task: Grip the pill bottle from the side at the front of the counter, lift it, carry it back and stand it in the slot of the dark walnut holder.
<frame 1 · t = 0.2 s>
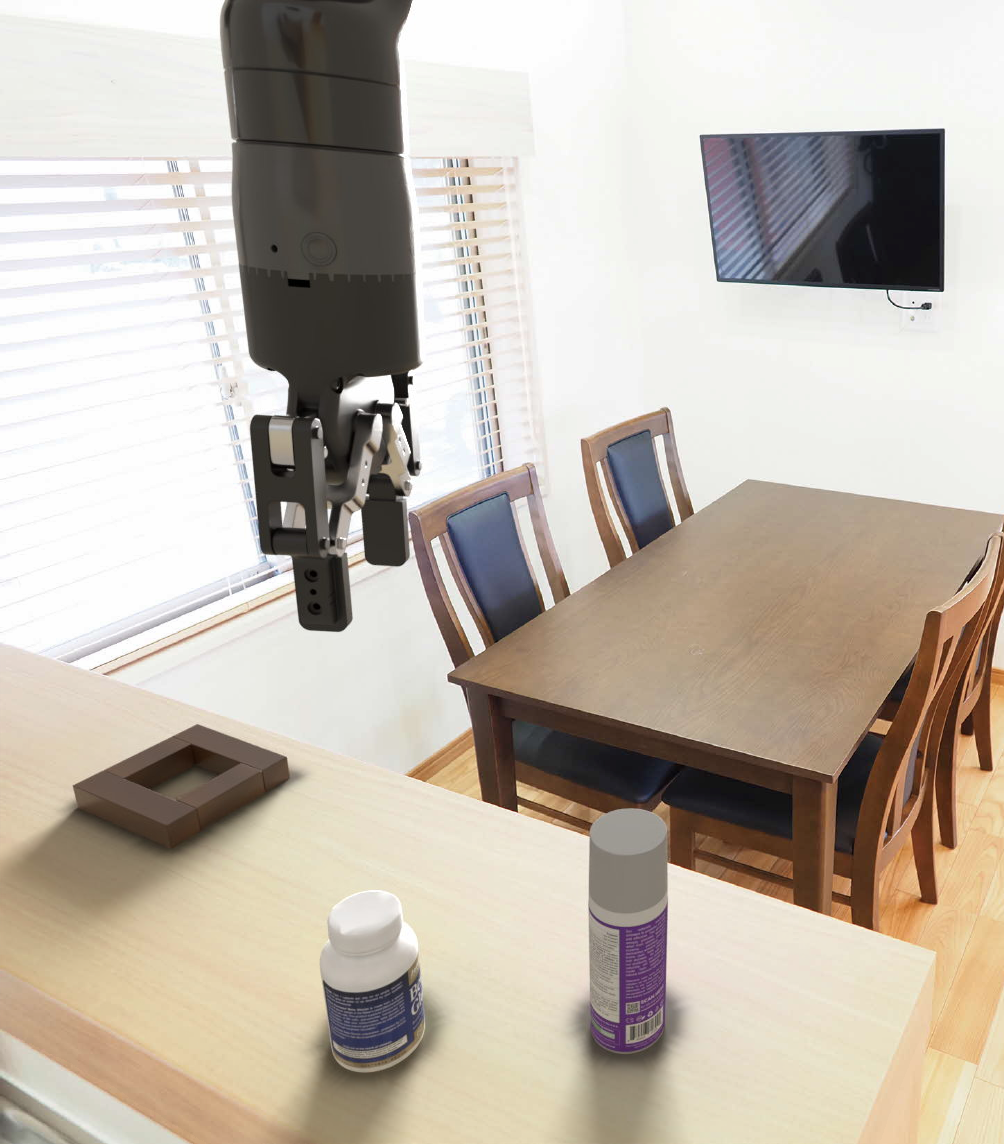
hand: (359, 593, 49), 30 cm above the worktop, tool pointing down, fingers open, 8 cm apart
holder: (188, 795, 81), on the worktop
pill bottle: (380, 1042, 59), on the worktop
container: (627, 1030, 61), on the worktop
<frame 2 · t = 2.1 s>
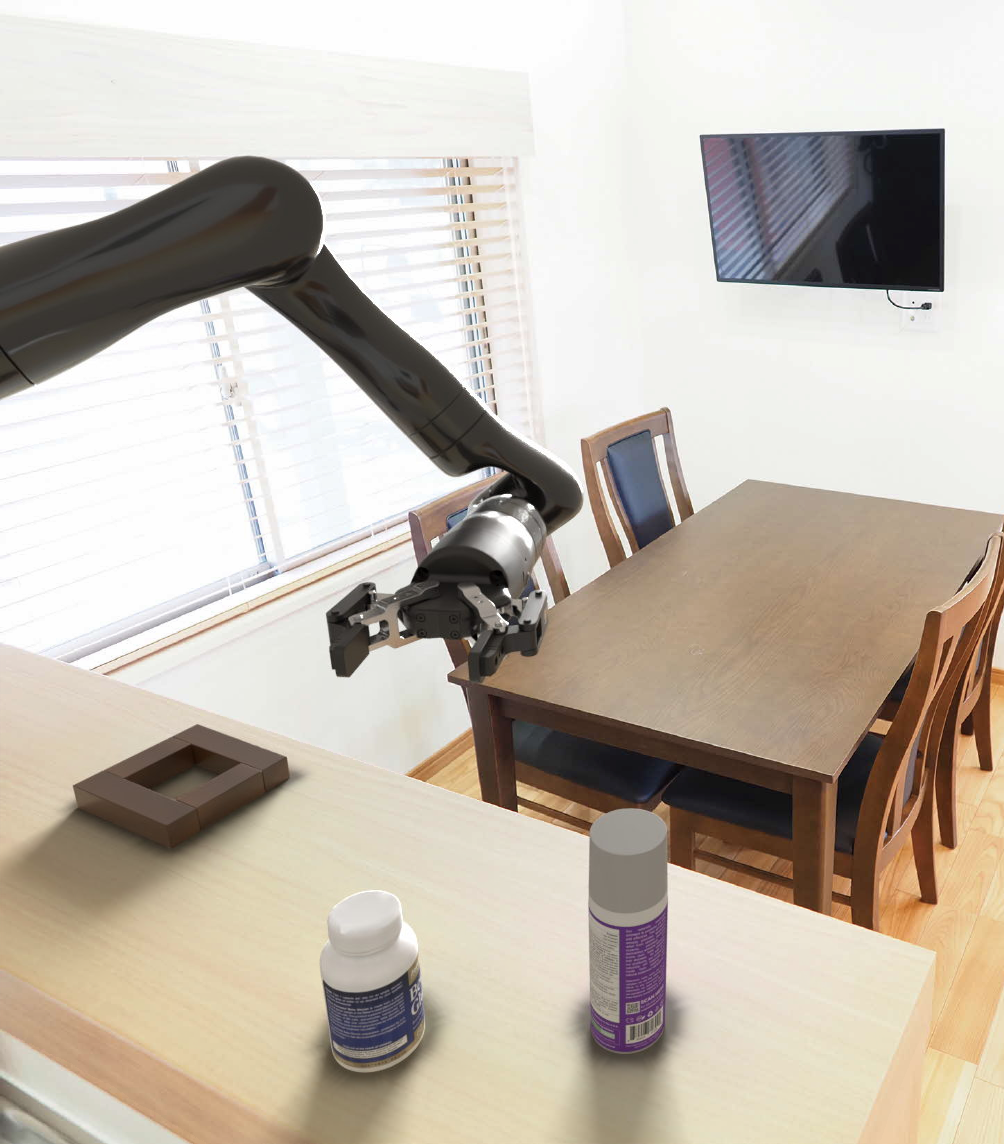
hand: (407, 667, 62), 20 cm above the worktop, tool horizontal, fingers open, 8 cm apart
nothing on the worktop moved.
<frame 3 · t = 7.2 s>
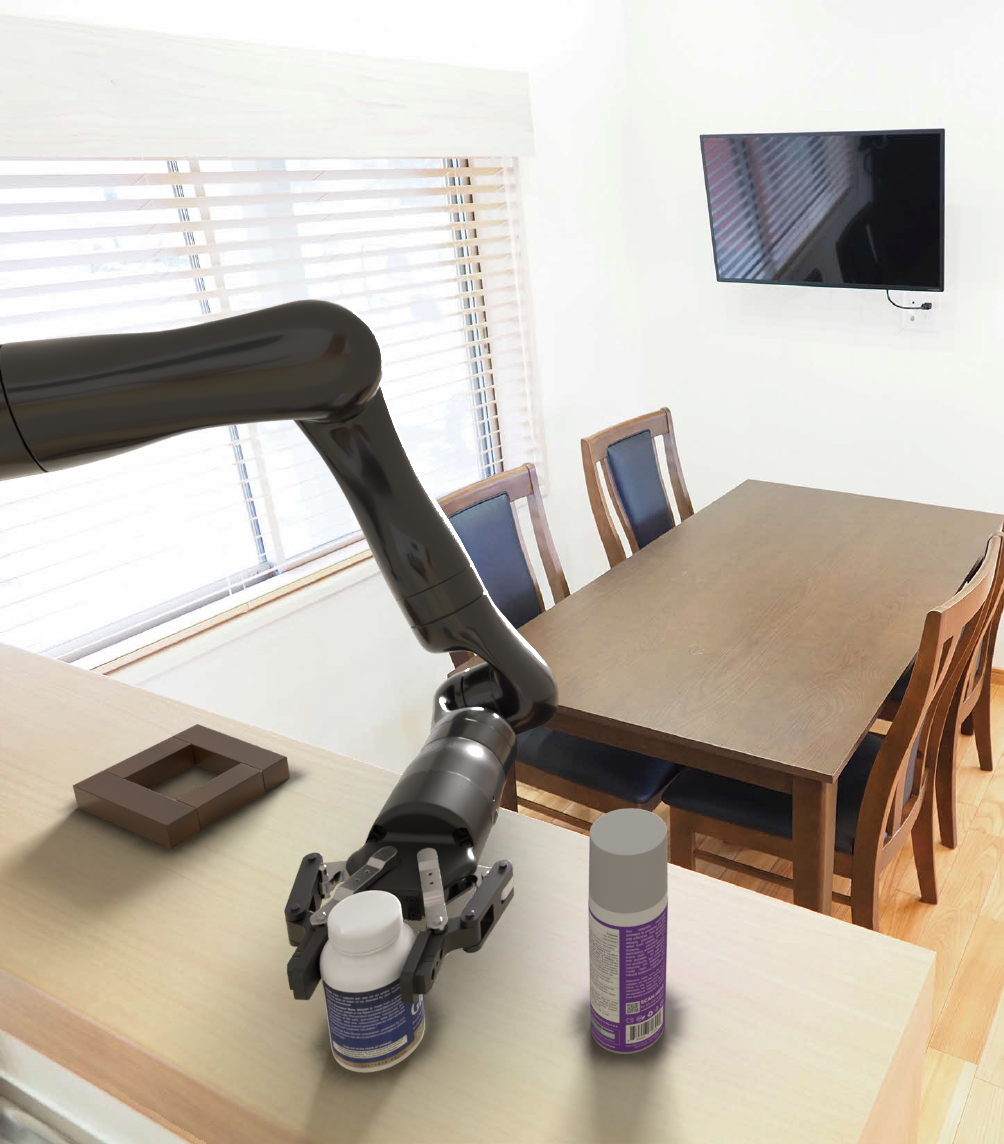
hand: (353, 990, 55), 7 cm above the worktop, tool horizontal, fingers closed on pill bottle, 5 cm apart
pill bottle: (380, 1042, 59), on the worktop, touching gripper
everything else where it was.
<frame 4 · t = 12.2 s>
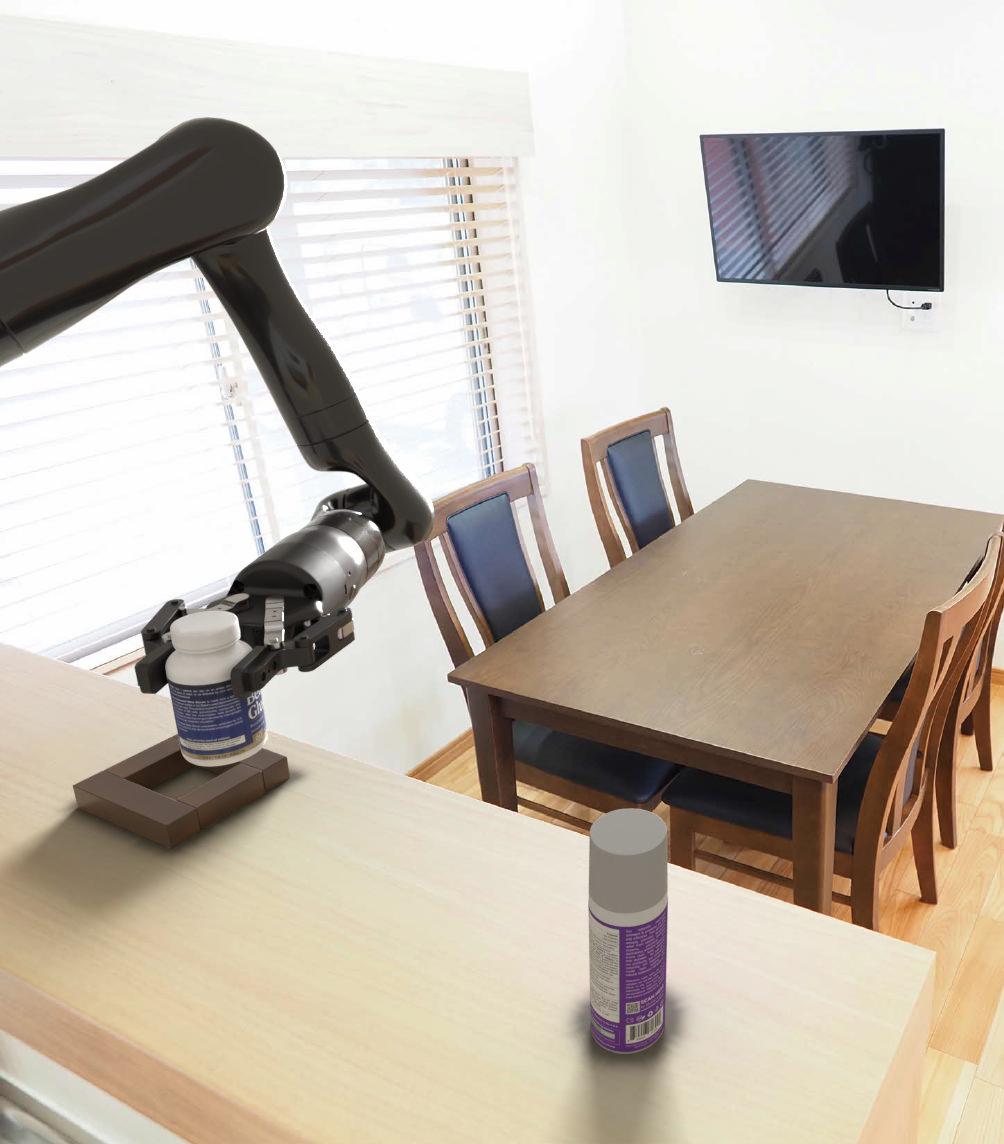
hand: (191, 683, 63), 18 cm above the worktop, tool horizontal, fingers closed on pill bottle, 5 cm apart
pill bottle: (226, 750, 68), point 11 cm above the worktop, touching gripper
everything else where it was.
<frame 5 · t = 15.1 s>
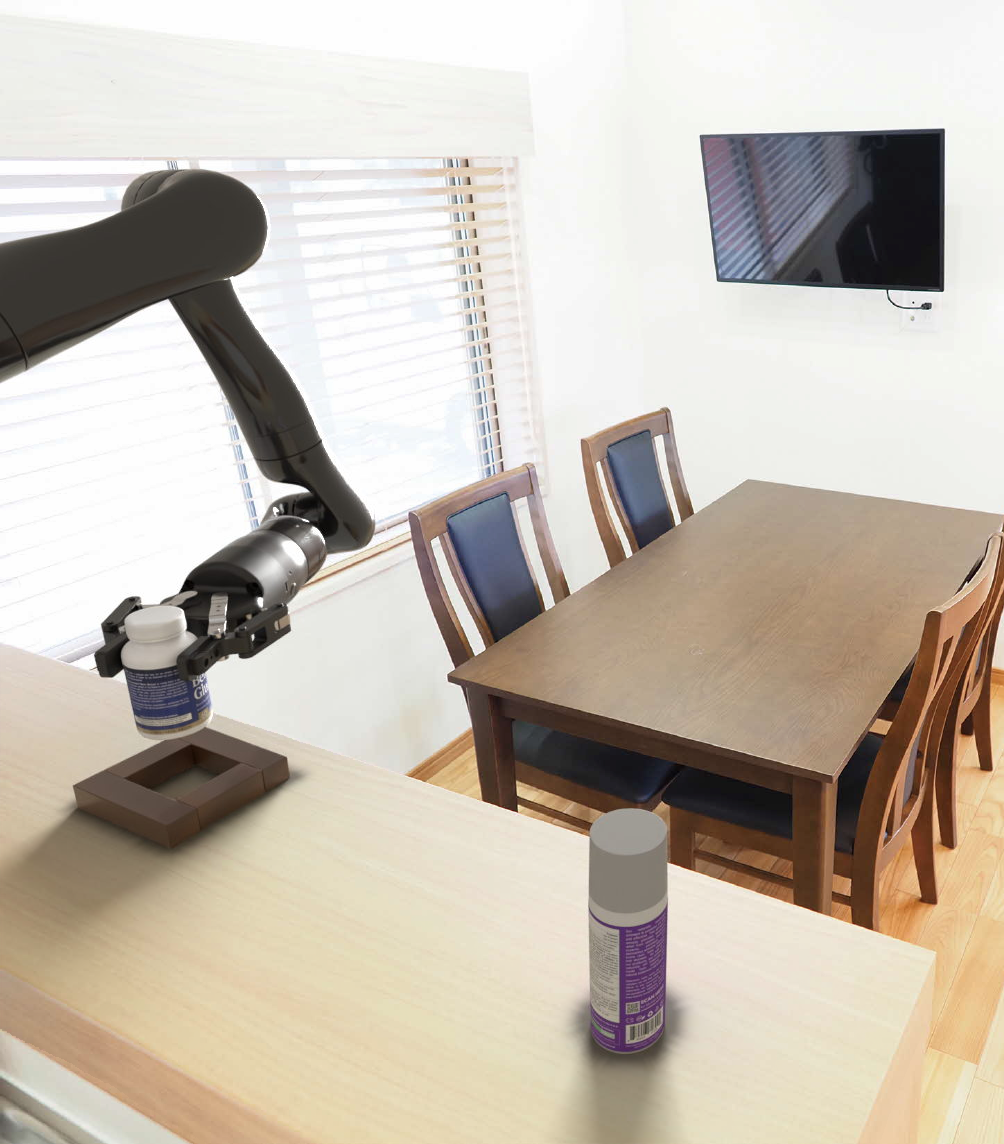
hand: (143, 668, 74), 13 cm above the worktop, tool horizontal, fingers closed on pill bottle, 5 cm apart
pill bottle: (177, 726, 79), point 7 cm above the worktop, touching gripper
everything else where it was.
when the fingers open (7 cm above the worktop, at t = 17.4 s): pill bottle stays where it is, resting in holder.
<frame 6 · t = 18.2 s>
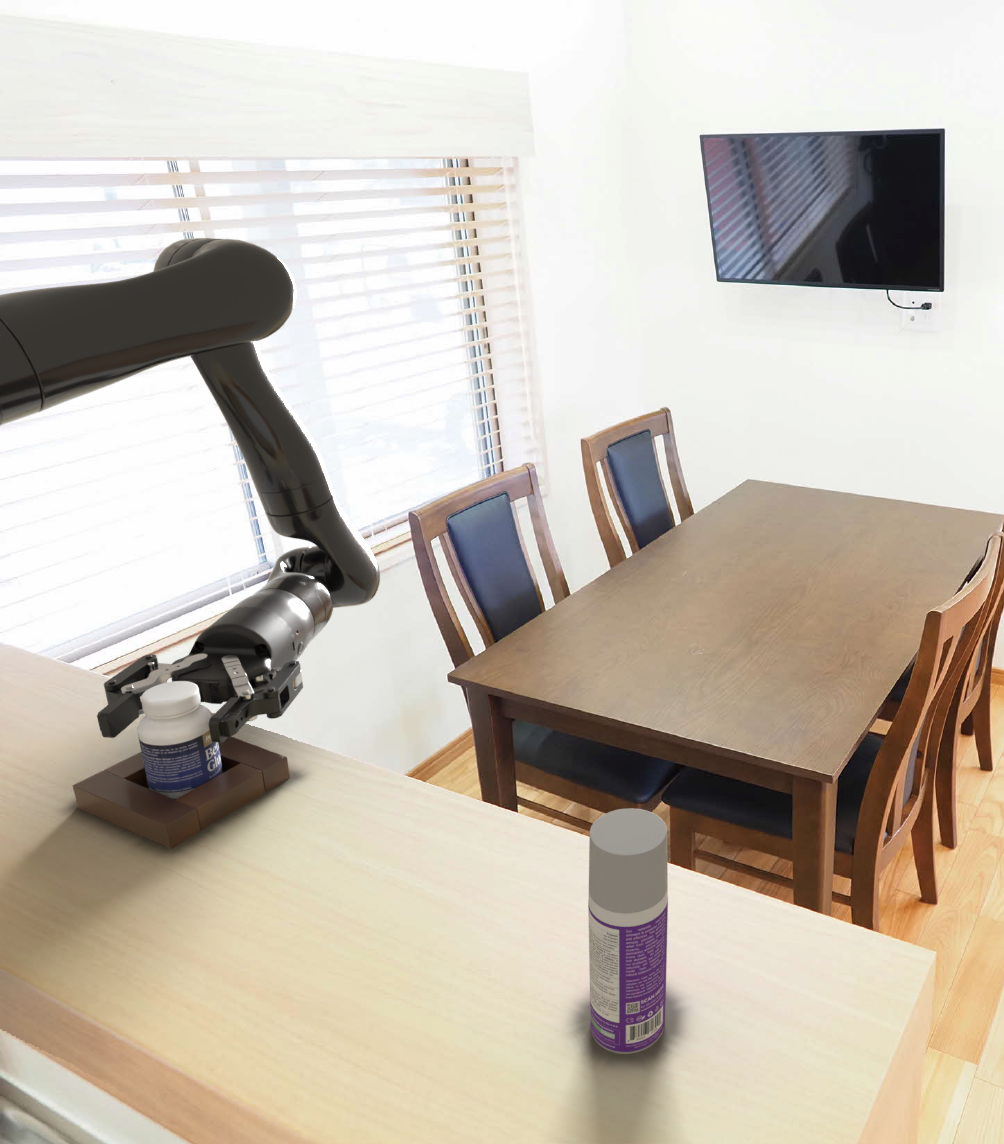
hand: (159, 730, 76), 7 cm above the worktop, tool horizontal, fingers open, 8 cm apart
pill bottle: (190, 796, 81), resting in holder
everything else where it was.
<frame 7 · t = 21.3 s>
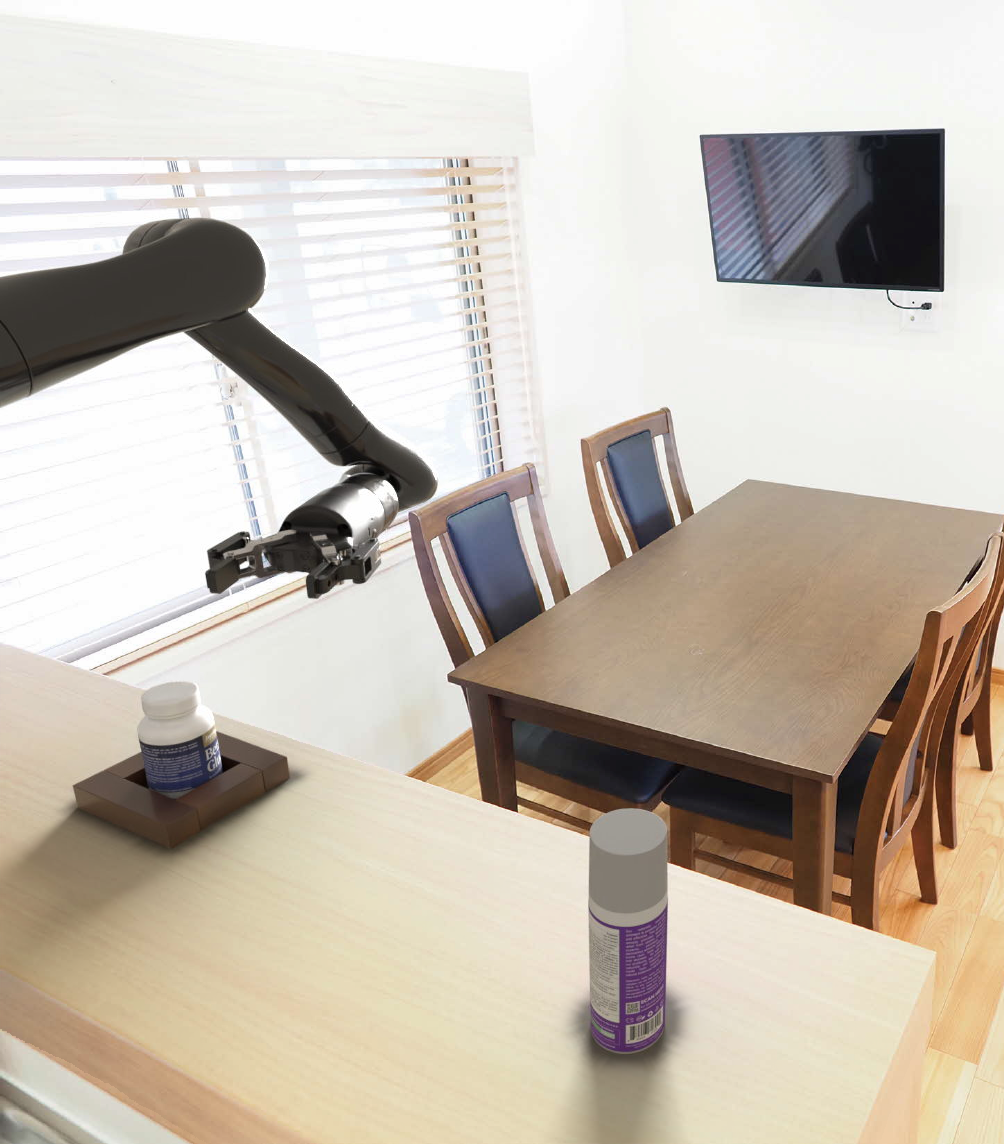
hand: (261, 586, 85), 15 cm above the worktop, tool horizontal, fingers open, 8 cm apart
nothing on the worktop moved.
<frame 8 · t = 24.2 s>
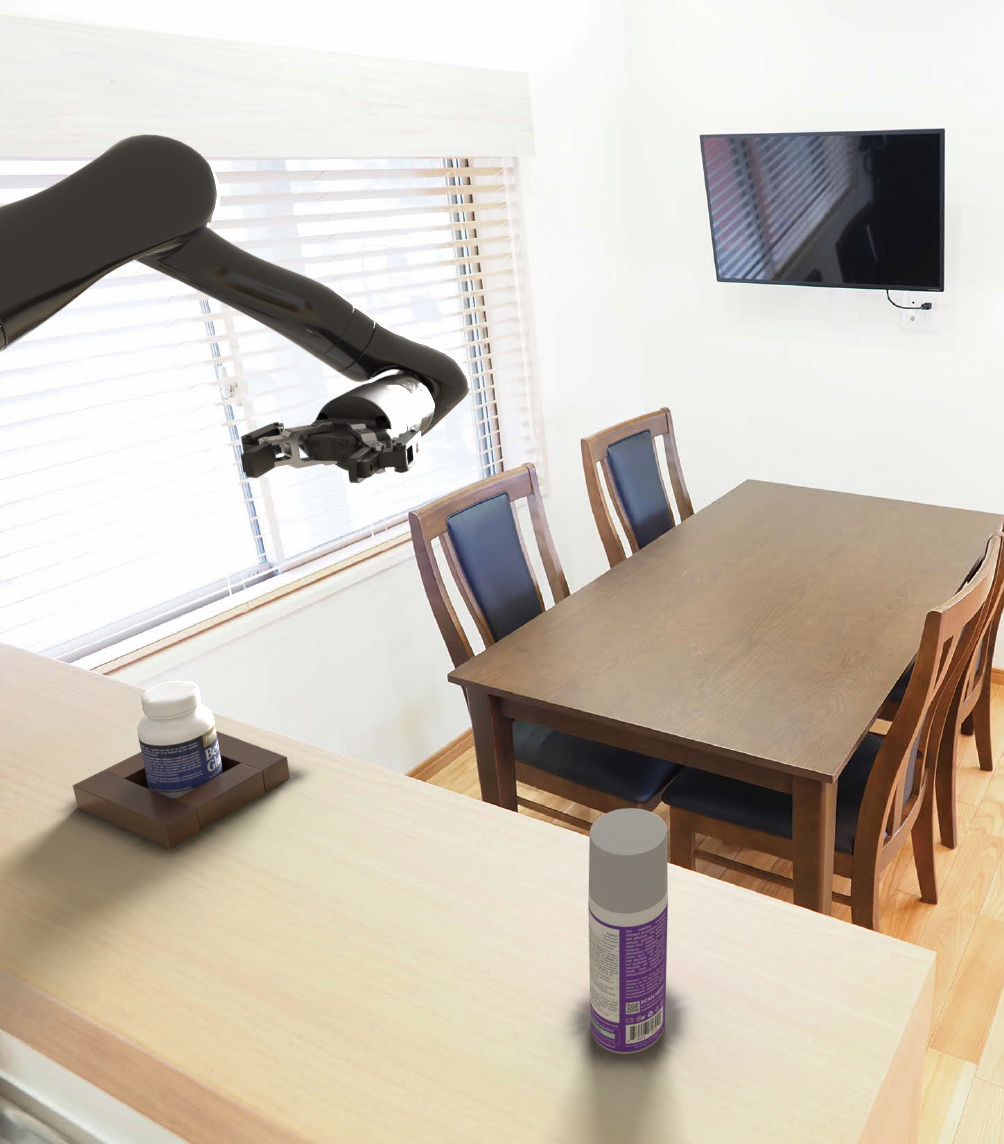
hand: (300, 469, 81), 26 cm above the worktop, tool horizontal, fingers open, 8 cm apart
nothing on the worktop moved.
at the end: pill bottle 0.1 cm off-centre in the holder, point 0.0 cm above the holder's base; pill bottle tilted 0°; the gripper is holding nothing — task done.
